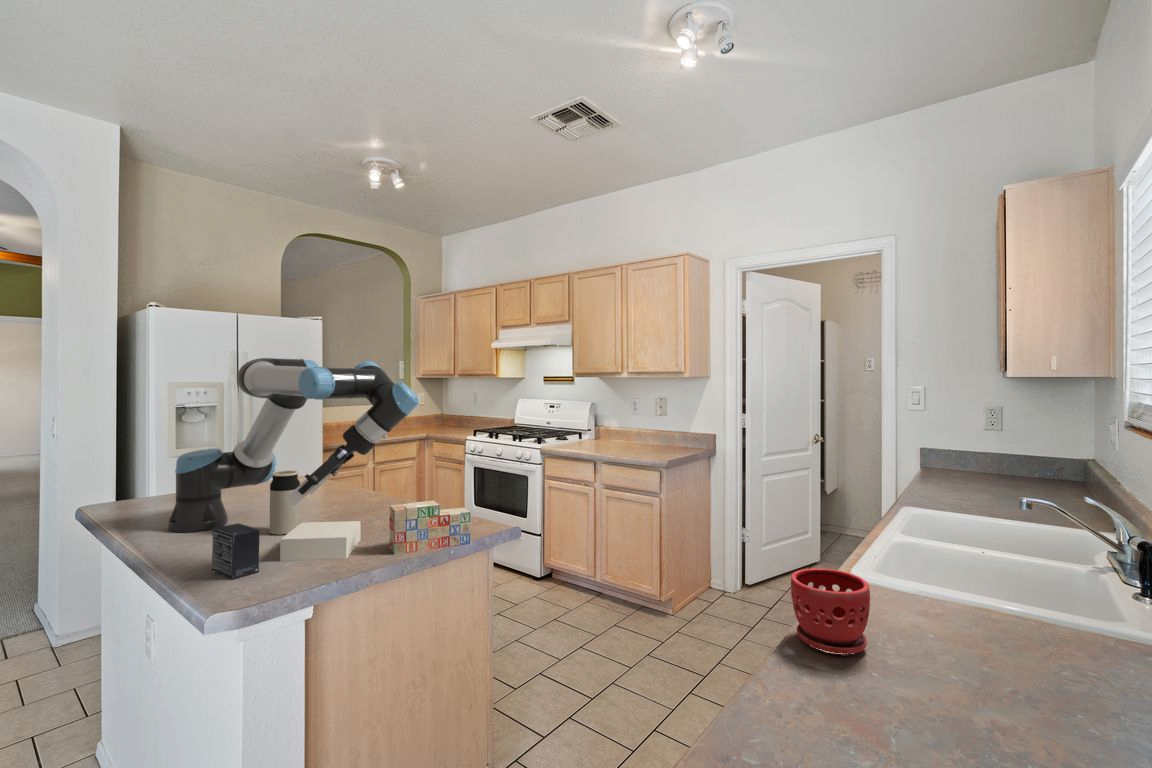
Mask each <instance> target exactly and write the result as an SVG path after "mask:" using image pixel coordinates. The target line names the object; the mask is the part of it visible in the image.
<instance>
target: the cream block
mask: <svg viewBox="0 0 1152 768" xmlns="http://www.w3.org/2000/svg"><path fill="white" fill-rule="evenodd" d="M361 529H362V527H361V520H357V521H355V520H353V521H351V520H350V521H349V520H348V521H346V520H345V521H322V522H321V521H320V522H319V521H317V522H316V521H313V522H301V523H300V522H299V525H298V526H297V527H295V528H294V529H293V530H292V531H290V532H289V533H288V534H286V535H283V537H282V538H281V539H280V540H279V543H280V544H279V548H280V549H279V554H280V555H279V561H280V562H294V561H293V560H303V561H323V560H324V561H325V559H329V560H346V559H348V557H349V556H350V555H351V554H352V552H353V551H354V549H355V548H356V547H357V546H358V544H359V543H360V542H361ZM359 541H360V542H359ZM358 542H359V543H358ZM357 543H358V544H357ZM356 545H357V546H356ZM355 546H356V547H355ZM352 550H353V551H352ZM349 554H350V555H349ZM291 560H292V561H291Z"/></svg>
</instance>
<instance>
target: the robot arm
mask: <svg viewBox="0 0 1152 768" xmlns="http://www.w3.org/2000/svg"><path fill="white" fill-rule="evenodd" d="M236 381H237V385H238V387H239V389H240V390H241V391H242V392H243V393H245V394H246V395H248V396H251V397H253V398H257V399H259V398H260V399H266V400H265V402H264V404H263V405H262V407H261V409H260V410H259V413H258V415H257V417H256V418H255V421H254V422H253V424H252V426H251V428H250V429H249V432H248V434H247V435H246V437H245V439H244V440H241V441H239V442H238V443H237V444H236V445H235V447H234V449H233V450H232V451H225V452H223V451H222V450H221V448H209V449H207V448H206V449H200V450H199V449H198V450H194V451H190V452H186V453H183V454H181V455H180V456H179V457H177V459H176V465H175V466H176V467H175V470H174V472H175V505H174V507H173V510H172V511H171V515H170V518H169V520H168V524H167V525H168V527H167V528H168V529H167V530H168V531H170V532H174V533H195V532H203V531H207V530H208V531H210V530H212V529H213V528H215V527H221V526H226V525H227V524H228V519H229V518H228V513H227V511H226V508H225V505H224V503H223V501H222V490H225V489H231V488H239V487H247V486H256V485H259V484H264V483H266V482H268V481H269V480H270V479H272V475H271V474H272V473H273V472H276V466H277V459H276V456H275V454H274V452H273V450H274V448H275V447H276V444H277V442H278V441H279V440H280V438H281V436H282V434H283V432H285V431H284V430H285V429H286V427H287V425H288V423H289V421H290V420H291V418H292V416H293V414H294V413H295V412H296V410H299V409H301V408H303V407H304V406H305V405H306V403H307V401H308V400H317V401H318V400H333V399H334V400H335V399H336V400H337V399H338V400H339V399H367V400H368V401H369V403H370V404H371V405H372V406H371V407H370V408H369V409H367V411H366V412H364V413H363V414H362V415H361V416H360V417H359V418H358V419H357V420H356V421H355V422H354V423H355V424H352V425H351V426H349V427H348V429H346V430H345V431H344V432H343V433H342V439H343V440H344V441H345V442H346V444H345V445H344V444H342V445H340V446H338V447H337V448H336V449H335V451H334V452H333V453H331V454H330V456H328V459H327V460H326V461H325V462H324V463H322V464H321V465H320V466H319V467H318V468H317V469H315V470H314V471H313V472H312V473H311V474H308V473H307V474H306V475H305V476H304V478H306V479H304V480H303V482H301V483H300V485H299V486H298V487H297V488H296V489H295V490H294V491H293V492H292V493H291V494H290V495H289V496H288V497H287V498H286V499H287V500H288V501H289V502H290V503H291V504H292V505H293V506H296V505H297V504H298V503H299V502H302V500H304V498H305V497H306V496H308V495H309V494H310V495H312V494H314V493H315V492H316V491H317V490H318V489H319V488H320V487H321V486H322V485H323V484H324V483H325V482H326V481H327V480H329V479H330V478H331V476H333V477H335V476H337V474H338V472H337V471H338V470H339V469H340V468H341V467H342V466H343V465H344V464H346V463H349V462H348V461H351V459H353V457H355V453H356V452H357V453H358V455H362V456H365V455H367V454H368V453H369V452H370V451H371V450H372V449H373V448H375V446H376V444H378V443H379V442H380V441H382V440H383V439H384V440H386V439H388V435H387V434H389V433H390V432H391V431H393V429H394V428H395V427H396V426H397V425H398V424H399V423H400V422H402V421H403V420H404V419H405V418H406V417H408V416H409V415H410V414H411V412H412V411H414V409H415V408H416V407H417V406H418V405H419V403H420V399H419V396H418V395H417V394H416V393H415V392H414V391H413V389H411V388H410V387H409V386H408V385H407V384H405V383H404V382H402V381H398V382H396V384H395V383H394V381H393V380H392V379H391V378H390V377H389V376H388V375H387V373H386V372H385V371H384V369H383V368H381V367H380V366H379V365H378V364H377V363H375V362H374V361H371V360H370V361H369V360H367V361H364V362H360V363H358V364H357V365H355V367H353V368H352V367H351V368H348V367H346V368H345V367H344V368H342V367H323V366H319V364H318V363H317V362H316V361H314V360H311V359H303V358H300V359H298V358H296V359H295V358H272V357H261V358H255V359H251V360H249V361H247V362H245V363H244V364H243V365H242V366H241V367H240V368H239V369H238V372H237V374H236Z"/></svg>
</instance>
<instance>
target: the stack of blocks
mask: <svg viewBox="0 0 1152 768" xmlns="http://www.w3.org/2000/svg"><path fill="white" fill-rule="evenodd" d="M471 522H472V521H471V511H470V510H468V509H466V508H465V507H457V508H449V509H445V508H444V509H441V504H439V503H438V502H436V501H435V500H428V501H427V500H425V501H417V502H410V503H409V502H408V503H400V504H391V505H389V524H388V525H389V550H390V549H391V550H390V551H391V552H392V554H393V555H394V554H395V555H402V554H409V552H410V553H417V552H423V550H424V551H429V550H428V549H430V550H434V548H436V549H440V548H439V547H443V548H446V547H445V546H449V547H454V546H455V545H456V546H461V545H467V544H468V545H469V544H471V529H472V528H471V526H472V525H471V524H472V523H471ZM416 551H417V552H416ZM401 553H402V554H401Z"/></svg>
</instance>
